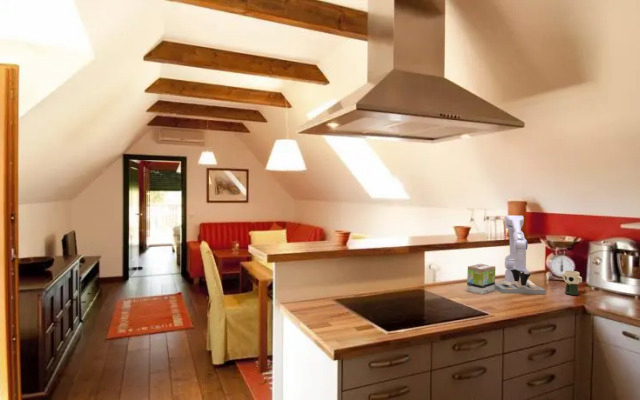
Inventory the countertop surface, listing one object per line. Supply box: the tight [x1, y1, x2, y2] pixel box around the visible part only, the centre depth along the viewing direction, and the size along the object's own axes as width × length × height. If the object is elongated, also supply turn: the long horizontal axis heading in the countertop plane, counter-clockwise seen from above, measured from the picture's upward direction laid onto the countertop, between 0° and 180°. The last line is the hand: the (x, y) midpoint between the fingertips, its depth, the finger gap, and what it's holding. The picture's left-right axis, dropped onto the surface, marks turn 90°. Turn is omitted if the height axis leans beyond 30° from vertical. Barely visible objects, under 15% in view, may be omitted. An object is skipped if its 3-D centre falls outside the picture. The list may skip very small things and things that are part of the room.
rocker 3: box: [526, 279, 537, 288], centre depth 209 cm, size 8×3×2 cm, turn 176°
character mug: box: [561, 270, 583, 296], centre depth 202 cm, size 11×7×13 cm, turn 19°
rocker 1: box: [499, 281, 511, 285], centre depth 210 cm, size 8×3×2 cm, turn 176°
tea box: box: [466, 263, 496, 295], centre depth 209 cm, size 15×10×15 cm
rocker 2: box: [512, 279, 524, 288], centre depth 210 cm, size 8×3×2 cm, turn 176°
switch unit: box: [495, 282, 546, 295], centre depth 210 cm, size 14×24×3 cm, turn 86°
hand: (520, 283), depth 207 cm, fingers open, 7 cm apart
